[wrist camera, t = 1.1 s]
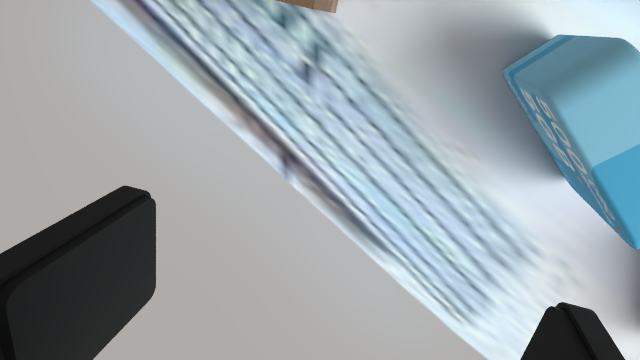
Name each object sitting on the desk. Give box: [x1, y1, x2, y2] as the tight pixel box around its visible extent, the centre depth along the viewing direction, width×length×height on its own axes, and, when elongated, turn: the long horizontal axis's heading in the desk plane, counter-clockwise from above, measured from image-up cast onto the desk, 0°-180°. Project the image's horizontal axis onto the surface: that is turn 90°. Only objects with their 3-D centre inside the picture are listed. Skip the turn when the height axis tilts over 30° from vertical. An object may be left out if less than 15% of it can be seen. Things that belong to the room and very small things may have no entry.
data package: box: [503, 35, 640, 249], centre depth 26 cm, size 12×4×12 cm, turn 37°
